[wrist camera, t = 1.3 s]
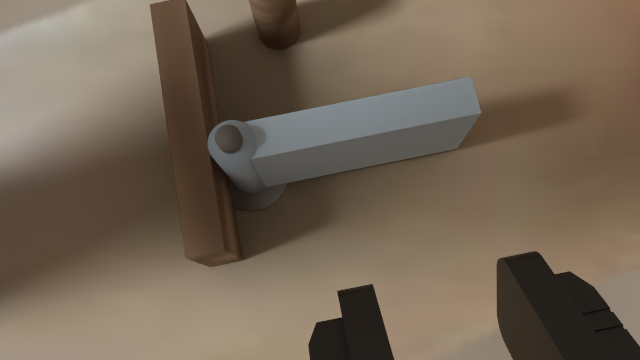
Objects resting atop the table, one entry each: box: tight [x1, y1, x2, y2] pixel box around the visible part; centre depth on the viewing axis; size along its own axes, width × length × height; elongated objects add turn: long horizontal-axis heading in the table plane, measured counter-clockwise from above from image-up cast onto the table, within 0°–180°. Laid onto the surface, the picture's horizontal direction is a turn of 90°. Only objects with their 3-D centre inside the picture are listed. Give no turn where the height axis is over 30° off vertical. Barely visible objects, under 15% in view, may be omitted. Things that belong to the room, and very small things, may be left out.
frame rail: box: [150, 0, 287, 267], centre depth 36 cm, size 6×16×9 cm, turn 11°
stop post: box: [249, 0, 300, 49], centre depth 38 cm, size 3×3×7 cm
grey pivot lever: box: [208, 77, 481, 194], centre depth 35 cm, size 15×3×8 cm, turn 101°
